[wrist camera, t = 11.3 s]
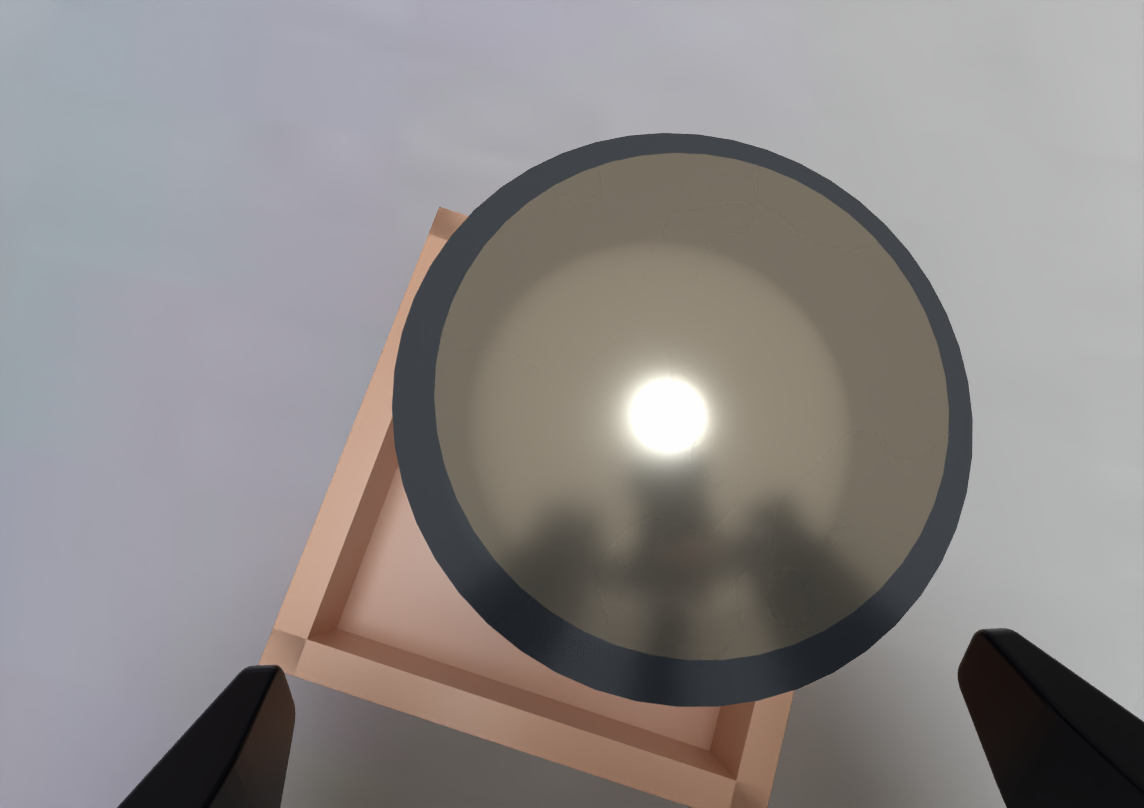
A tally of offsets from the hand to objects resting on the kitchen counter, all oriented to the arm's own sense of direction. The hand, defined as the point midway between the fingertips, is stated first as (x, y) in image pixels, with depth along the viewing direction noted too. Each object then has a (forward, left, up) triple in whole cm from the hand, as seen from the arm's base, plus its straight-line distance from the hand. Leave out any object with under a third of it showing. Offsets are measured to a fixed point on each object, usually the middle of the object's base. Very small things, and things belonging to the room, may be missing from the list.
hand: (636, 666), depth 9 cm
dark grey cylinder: (+3, +1, -9) cm, 10 cm away
